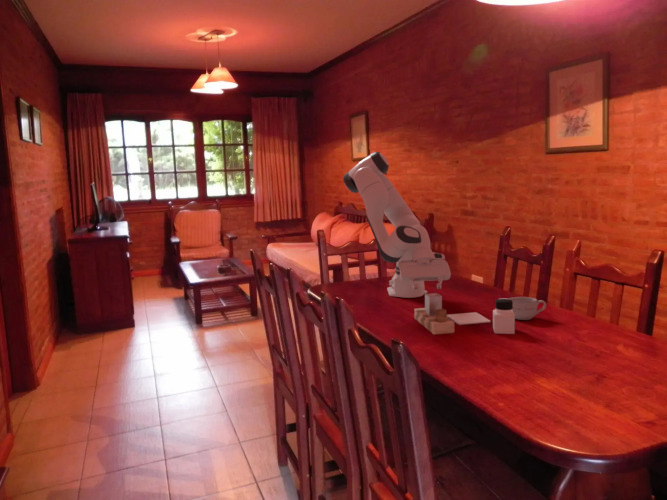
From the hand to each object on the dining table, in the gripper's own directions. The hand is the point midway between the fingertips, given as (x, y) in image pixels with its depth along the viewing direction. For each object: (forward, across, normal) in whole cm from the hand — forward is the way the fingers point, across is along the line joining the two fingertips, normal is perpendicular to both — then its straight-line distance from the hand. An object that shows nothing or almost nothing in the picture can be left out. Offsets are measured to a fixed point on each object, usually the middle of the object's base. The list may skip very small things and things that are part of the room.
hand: (427, 288), depth 211 cm
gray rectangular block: (+11, +1, +2) cm, 11 cm away
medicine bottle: (+21, +25, -2) cm, 33 cm away
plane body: (+13, +1, +5) cm, 14 cm away
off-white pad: (+9, +16, +10) cm, 21 cm away
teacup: (+11, +39, +8) cm, 41 cm away
